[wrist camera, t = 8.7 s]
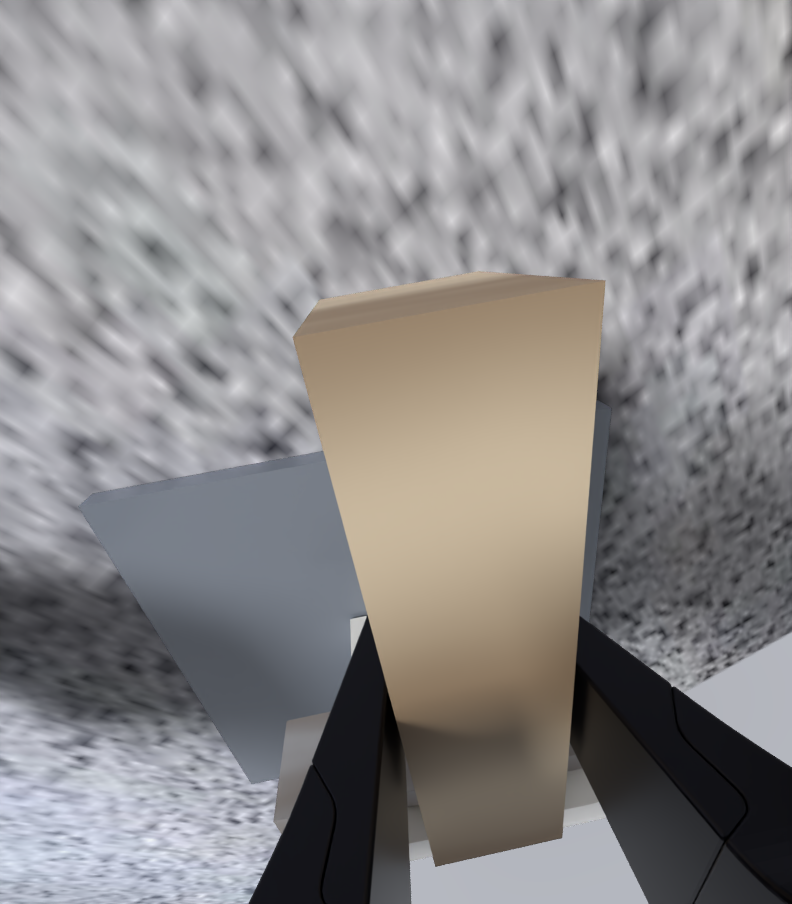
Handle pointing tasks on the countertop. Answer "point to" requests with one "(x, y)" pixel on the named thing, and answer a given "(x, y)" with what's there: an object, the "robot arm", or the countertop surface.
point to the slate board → (260, 587)
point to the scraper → (463, 534)
